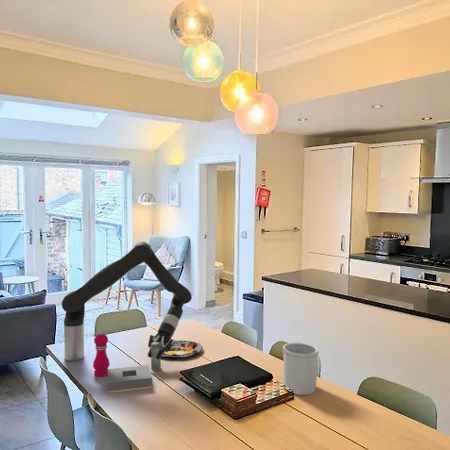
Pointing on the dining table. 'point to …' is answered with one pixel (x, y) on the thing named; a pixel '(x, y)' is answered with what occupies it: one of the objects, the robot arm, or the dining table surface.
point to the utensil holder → (300, 367)
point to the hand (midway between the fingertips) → (153, 357)
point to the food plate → (183, 349)
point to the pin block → (129, 378)
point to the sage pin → (154, 351)
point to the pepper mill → (101, 356)
